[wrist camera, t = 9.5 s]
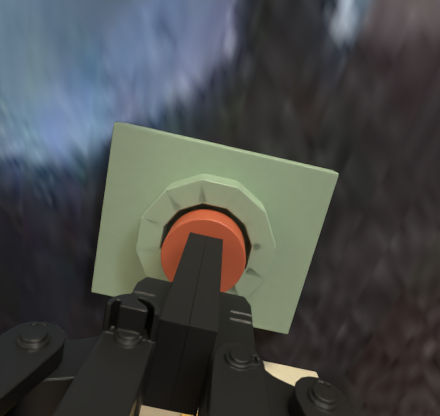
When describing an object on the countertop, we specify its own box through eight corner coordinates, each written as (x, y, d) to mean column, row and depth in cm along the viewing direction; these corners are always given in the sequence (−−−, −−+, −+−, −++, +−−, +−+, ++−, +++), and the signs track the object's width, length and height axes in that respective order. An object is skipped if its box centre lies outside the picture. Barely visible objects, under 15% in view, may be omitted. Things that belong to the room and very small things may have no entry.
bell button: (252, 218, 17) (255, 229, 15) (234, 288, 18) (234, 305, 16) (174, 200, 17) (168, 209, 15) (161, 272, 18) (153, 288, 16)
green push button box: (332, 170, 19) (351, 179, 16) (284, 323, 21) (293, 355, 18) (121, 121, 18) (100, 121, 15) (98, 282, 21) (76, 309, 18)
